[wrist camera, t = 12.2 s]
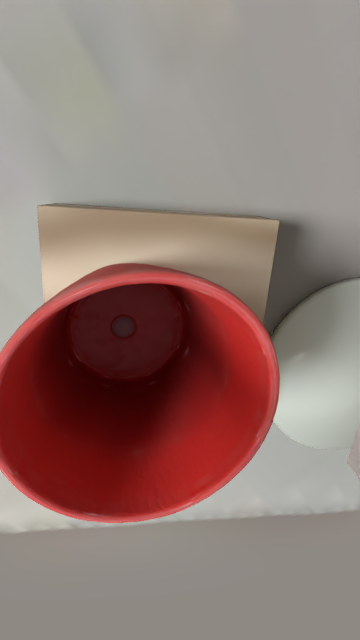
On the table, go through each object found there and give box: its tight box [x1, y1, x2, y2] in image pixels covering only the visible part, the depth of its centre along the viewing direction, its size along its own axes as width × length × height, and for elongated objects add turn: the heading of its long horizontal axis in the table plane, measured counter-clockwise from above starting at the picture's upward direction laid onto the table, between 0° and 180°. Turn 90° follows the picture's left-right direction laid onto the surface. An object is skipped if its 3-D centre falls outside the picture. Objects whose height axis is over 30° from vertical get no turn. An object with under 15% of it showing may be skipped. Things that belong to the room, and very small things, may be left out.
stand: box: [37, 203, 279, 324], centre depth 24 cm, size 14×14×4 cm
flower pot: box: [0, 263, 280, 523], centre depth 17 cm, size 11×11×10 cm
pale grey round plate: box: [271, 277, 360, 450], centre depth 29 cm, size 16×16×1 cm
